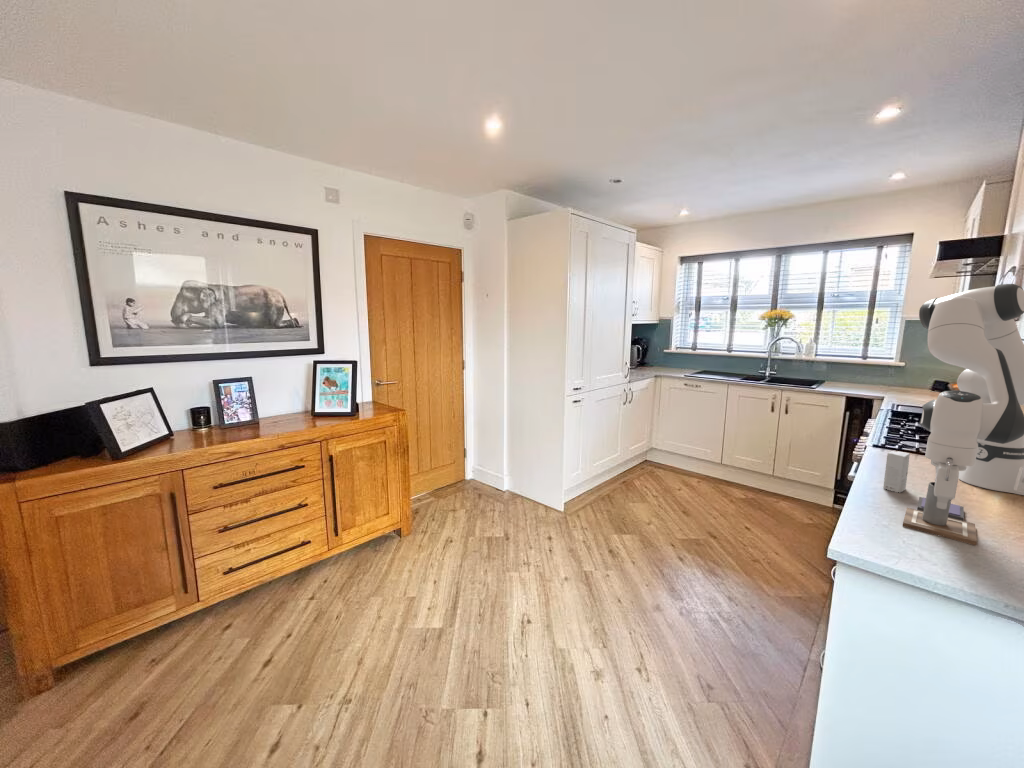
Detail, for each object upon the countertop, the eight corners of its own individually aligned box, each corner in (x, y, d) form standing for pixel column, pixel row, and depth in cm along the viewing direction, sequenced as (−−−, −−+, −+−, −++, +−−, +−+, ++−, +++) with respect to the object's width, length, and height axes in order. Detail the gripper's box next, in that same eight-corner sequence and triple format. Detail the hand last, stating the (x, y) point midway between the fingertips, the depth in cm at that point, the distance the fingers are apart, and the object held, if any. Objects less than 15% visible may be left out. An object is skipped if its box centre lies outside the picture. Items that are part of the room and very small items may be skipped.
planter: (920, 520, 108) (928, 484, 107) (923, 515, 111) (930, 480, 109) (945, 527, 105) (953, 490, 103) (947, 522, 108) (954, 486, 106)
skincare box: (900, 493, 128) (905, 456, 126) (881, 488, 132) (887, 453, 130) (906, 489, 132) (911, 453, 130) (888, 484, 135) (893, 449, 134)
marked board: (906, 510, 117) (907, 506, 116) (974, 527, 107) (975, 523, 107) (902, 526, 108) (903, 521, 108) (976, 545, 98) (976, 541, 98)
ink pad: (918, 500, 123) (919, 495, 123) (962, 510, 117) (963, 505, 116) (916, 510, 116) (917, 506, 116) (963, 522, 110) (964, 516, 110)
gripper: (969, 467, 95) (959, 521, 97) (967, 448, 109) (959, 497, 111) (931, 460, 100) (922, 512, 102) (934, 443, 114) (926, 490, 116)
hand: (941, 504), depth 107 cm, fingers closed on planter, 4 cm apart
